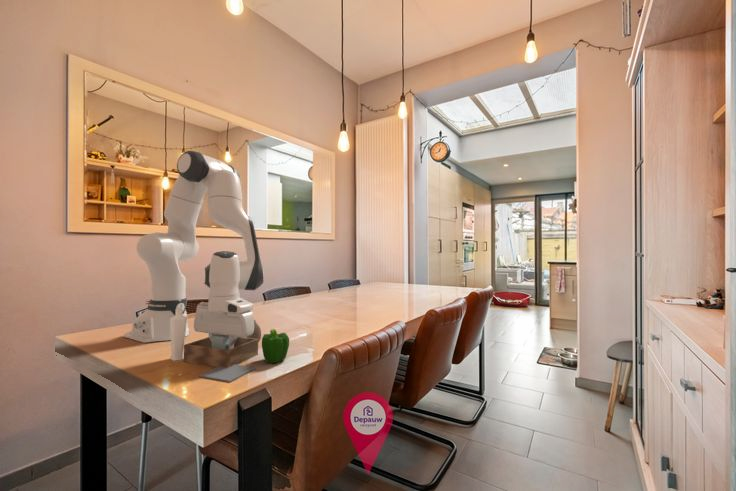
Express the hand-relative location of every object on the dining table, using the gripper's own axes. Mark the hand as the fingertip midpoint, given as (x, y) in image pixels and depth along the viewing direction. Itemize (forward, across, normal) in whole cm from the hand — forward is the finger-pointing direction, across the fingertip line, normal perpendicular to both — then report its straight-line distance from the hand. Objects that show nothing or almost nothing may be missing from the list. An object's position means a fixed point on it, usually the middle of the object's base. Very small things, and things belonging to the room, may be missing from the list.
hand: (222, 348), depth 100 cm
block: (+3, 0, 0) cm, 3 cm away
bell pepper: (+3, +16, +4) cm, 17 cm away
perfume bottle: (+3, -12, -5) cm, 13 cm away
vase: (+3, -1, +15) cm, 15 cm away
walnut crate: (+3, 0, 0) cm, 3 cm away
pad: (+3, +10, -9) cm, 14 cm away
